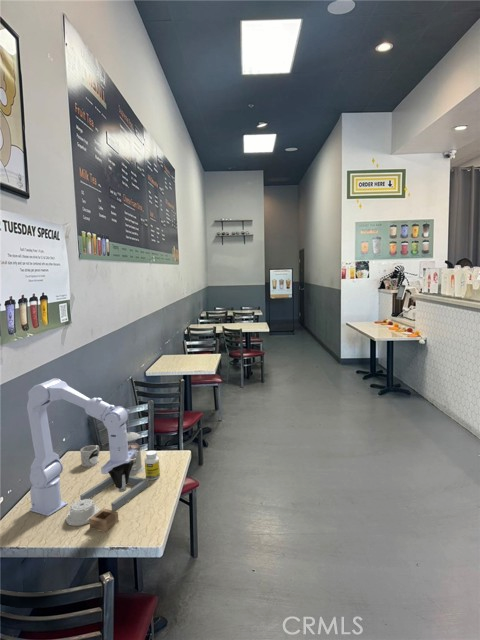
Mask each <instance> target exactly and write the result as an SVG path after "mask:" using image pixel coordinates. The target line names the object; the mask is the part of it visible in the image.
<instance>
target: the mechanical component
mask: <svg viewBox="0 0 480 640" xmlns="http://www.w3.org/2000/svg"><path fill="white" fill-rule="evenodd" d="M95 504H96V503H95V501H94V500H92V499H91V498H90V499H85V500H81V499H80V500H78V501H76V502H73V503H71V505H70V507H69V511H68V513H67V514H66V517H65V521H66V523H67V524H68V525H70V526H74V527H75V526H76V527H78V526H85V525H86V524H90V523H89V518H91V517H92V516H93V515H95V514H96V513H98V512H99V511H100V508H99V507H98V506H97V505H95Z"/></svg>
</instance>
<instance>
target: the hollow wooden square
mask: <svg viewBox="0 0 480 640" xmlns="http://www.w3.org/2000/svg"><path fill="white" fill-rule="evenodd" d="M118 522H119V513H118V511H117V510H115V511H112V509H108V508H105V507H103V508H102V509H99V512H98V513H96V514H95V515H93V516H92V517H91V518H89V523H88V524H89V529H93V530H96V531H99V532H103V533H105V532H107V531H108V530H110V528H112V527H114V525H115V524H117V523H118Z"/></svg>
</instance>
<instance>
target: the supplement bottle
mask: <svg viewBox="0 0 480 640" xmlns="http://www.w3.org/2000/svg"><path fill="white" fill-rule="evenodd" d="M157 454H158V453H157V450H148V451H146V452H145V458H144V468H145V469H144V470H145V479H148V481H149V480H150V481H153V480H156V479H159V478H160V476H161V473H160V472H161V470H160V458H159V457H158V456H157Z"/></svg>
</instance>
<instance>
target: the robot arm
mask: <svg viewBox="0 0 480 640" xmlns="http://www.w3.org/2000/svg"><path fill="white" fill-rule="evenodd" d="M27 395H28V401H27V405H26V407H27V415H28V421H29V426H30V427H29V428H30V433H31V440H32V445H33V450H34V451H33V452H34V457H35V458H34V459H33V461H32V463H31V465H30V474H29V481H30V484H31V486H30V489H29V495H30V503H31V508H29V512H33V513H37V514H40V515H44V516H46V517H49V516H51V515H52V514H54V513H56V512H57V511H58V510H60V509H62V508H63V507H65V506H67V505H68V503H69V502H68V501H64V500H62V491H61V482H60V478H61V474H62V473H63V470H64V466H63V462H62V461H61V458H60V455H59V454H58V453H56V452H55V451H54V447H53V441H52V436H51V430H50V425H49V417H48V412H47V408H48V406H50V404H51V403H52V402H55V401H61V400H64V401H66V402H69V403H71V404H74V405H76V406H78V407H80V408H82V409H84V412H85V414H87V415H88V416H90V417H92V418H94V419H97V420H98V421H101V422H102V424H103V425H104V427H105V428H106V431H107V434H108V435H107V436H108V437H107V438H108V449H109V458H110V459H109V460H108V461H107V462H106V463H105V464H104V465H102V467H100V472H101V474H102V475H108V474H109V477H110V476H111V477H112V479H113V482H114V483H113V484H114V487H115V489H118V488H119V489H121V488H122V474H123V472H124V473H125V480H126V485H128V481H129V475H130V471H131V468H132V466H133V464H134V462H133V461H132V460H133V459H130V458H132V457H133V456H137V452H138V450H137V449H136V450H134V449H132V450H130V451H128V444H129V443H128V442H127V433H128V432H127V423H126V422H128V420H129V413H128V412H127V410H128V409H126V408H125V407H123V406H122V405H117V406H115V405H114V404H109V403H108V402H106V401H103V398H101V397H92V398H90V397H88V396H86V395H85V394H83V393H82V392H80V391H78V390H76V389H74V388H73V387H71V386H69V385H68V384H67V382H66V381H63V380H61V379H60V378H56V377H54V378H51V379H50V380H47V381H43V382H42V383H39V384H35V385H34V386H33V387H31V388H30V389H29V391H27ZM130 476H131V475H130ZM119 489H118V490H119Z"/></svg>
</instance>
